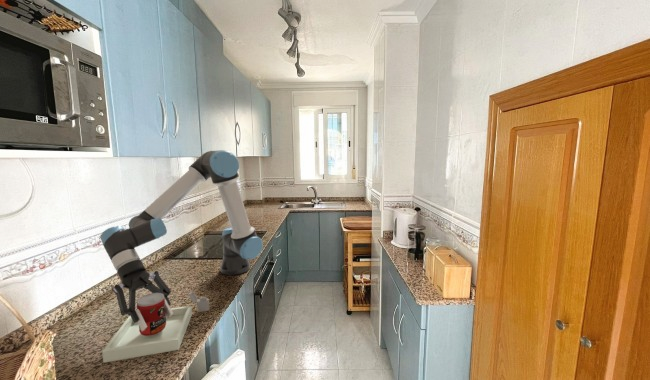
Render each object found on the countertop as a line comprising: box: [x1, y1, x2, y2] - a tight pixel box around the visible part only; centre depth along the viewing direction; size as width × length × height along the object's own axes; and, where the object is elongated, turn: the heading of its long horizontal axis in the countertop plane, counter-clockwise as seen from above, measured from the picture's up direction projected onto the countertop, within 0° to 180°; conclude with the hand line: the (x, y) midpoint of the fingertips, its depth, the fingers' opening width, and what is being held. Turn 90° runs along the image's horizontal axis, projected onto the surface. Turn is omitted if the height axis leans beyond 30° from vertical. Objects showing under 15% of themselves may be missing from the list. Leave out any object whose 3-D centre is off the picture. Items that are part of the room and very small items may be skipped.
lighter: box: [187, 291, 210, 313], centre depth 105 cm, size 7×2×8 cm, turn 106°
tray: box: [101, 305, 193, 363], centre depth 91 cm, size 20×20×4 cm
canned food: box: [136, 292, 166, 336], centre depth 90 cm, size 8×8×11 cm
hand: (158, 321), depth 89 cm, fingers closed on canned food, 8 cm apart
